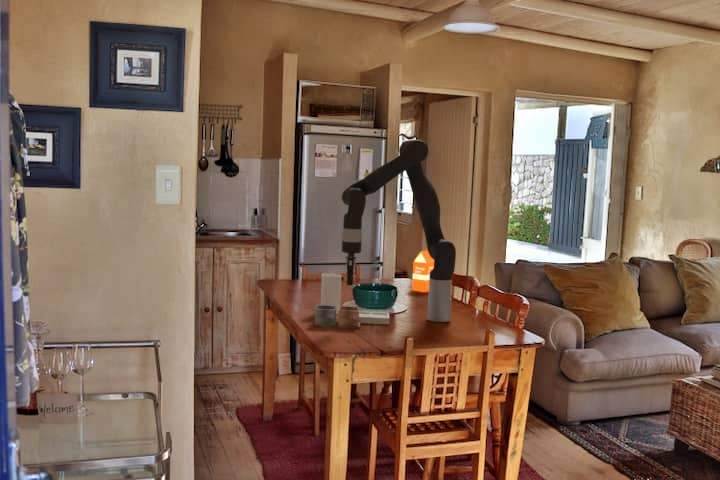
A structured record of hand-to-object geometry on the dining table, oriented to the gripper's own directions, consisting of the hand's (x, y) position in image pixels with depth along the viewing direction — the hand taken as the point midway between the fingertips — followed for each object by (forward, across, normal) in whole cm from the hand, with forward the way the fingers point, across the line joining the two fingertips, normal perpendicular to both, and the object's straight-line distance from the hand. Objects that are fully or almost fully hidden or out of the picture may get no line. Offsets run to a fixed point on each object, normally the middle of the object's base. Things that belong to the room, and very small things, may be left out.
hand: (350, 283), depth 267 cm
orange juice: (+16, +82, -34) cm, 90 cm away
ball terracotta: (0, 0, 0) cm, 0 cm away
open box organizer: (+16, 0, +4) cm, 17 cm away
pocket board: (+16, +10, -9) cm, 21 cm away
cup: (+17, +22, +8) cm, 28 cm away
